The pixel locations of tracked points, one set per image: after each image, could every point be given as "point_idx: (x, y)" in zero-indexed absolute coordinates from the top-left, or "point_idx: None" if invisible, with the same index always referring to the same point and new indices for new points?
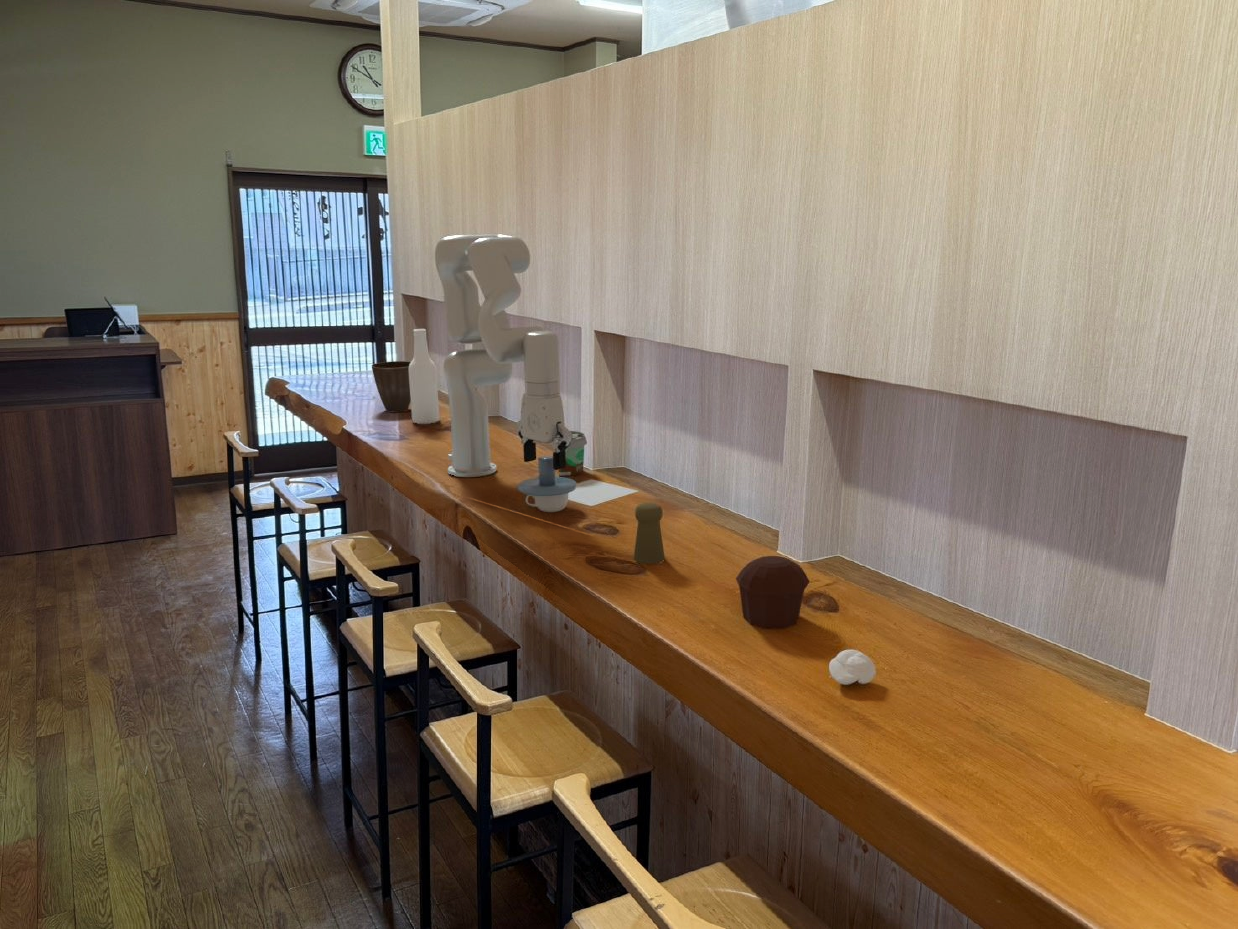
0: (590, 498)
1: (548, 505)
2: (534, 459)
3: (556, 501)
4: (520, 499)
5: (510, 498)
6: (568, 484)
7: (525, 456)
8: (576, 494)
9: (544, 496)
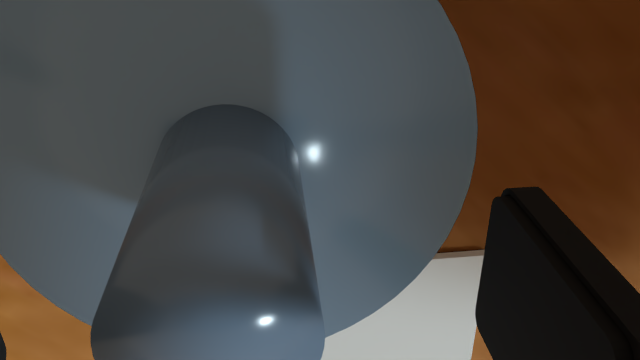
0: None
1: None
2: (478, 302)
3: None
4: (537, 117)
5: (602, 89)
6: (104, 275)
7: (539, 228)
8: (332, 340)
9: None
